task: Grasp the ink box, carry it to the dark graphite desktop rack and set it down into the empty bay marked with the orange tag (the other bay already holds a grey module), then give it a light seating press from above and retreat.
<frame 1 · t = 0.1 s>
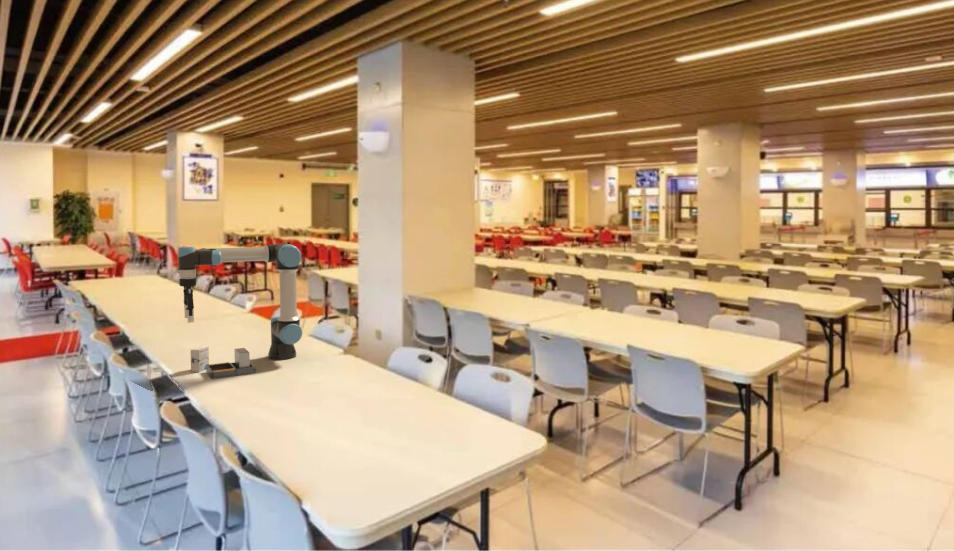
hand: (189, 320, 300), 28 cm above the table, fingers open, 13 cm apart
rack: (231, 372, 307), on the table
ink box: (200, 370, 311), on the table
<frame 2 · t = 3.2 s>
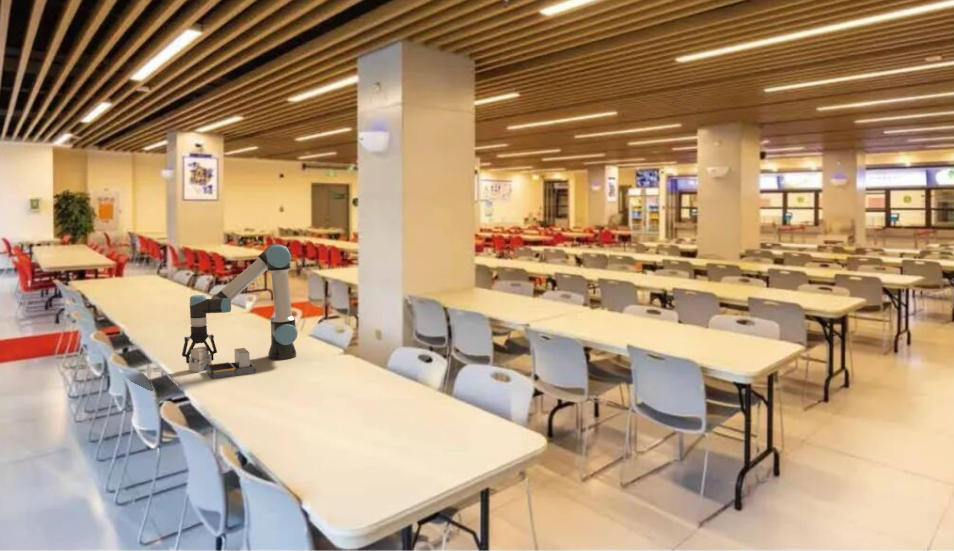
hand: (200, 367, 311), 1 cm above the table, fingers closed on ink box, 9 cm apart
ink box: (200, 370, 311), on the table, touching gripper
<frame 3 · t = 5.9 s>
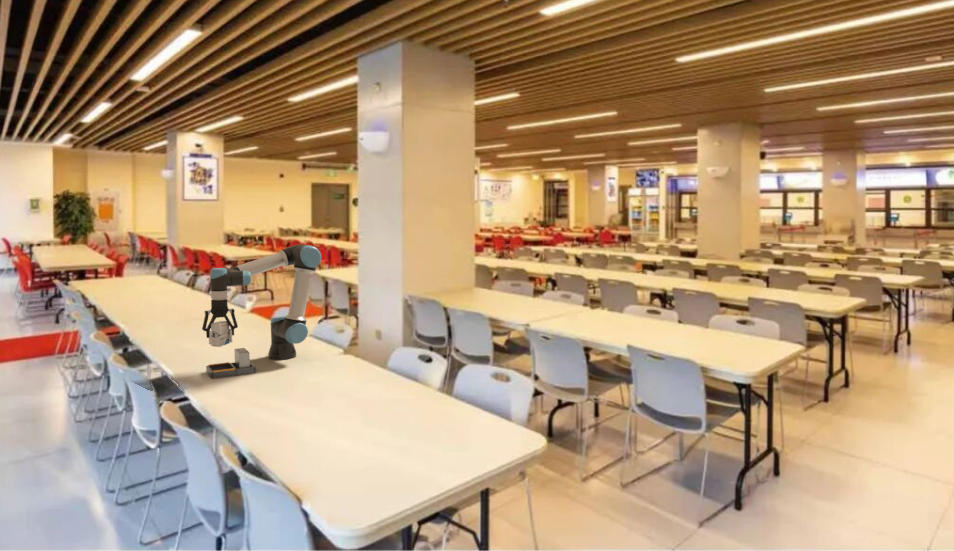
hand: (220, 342, 303), 16 cm above the table, fingers closed on ink box, 9 cm apart
ink box: (220, 345, 303), point 15 cm above the table, touching gripper
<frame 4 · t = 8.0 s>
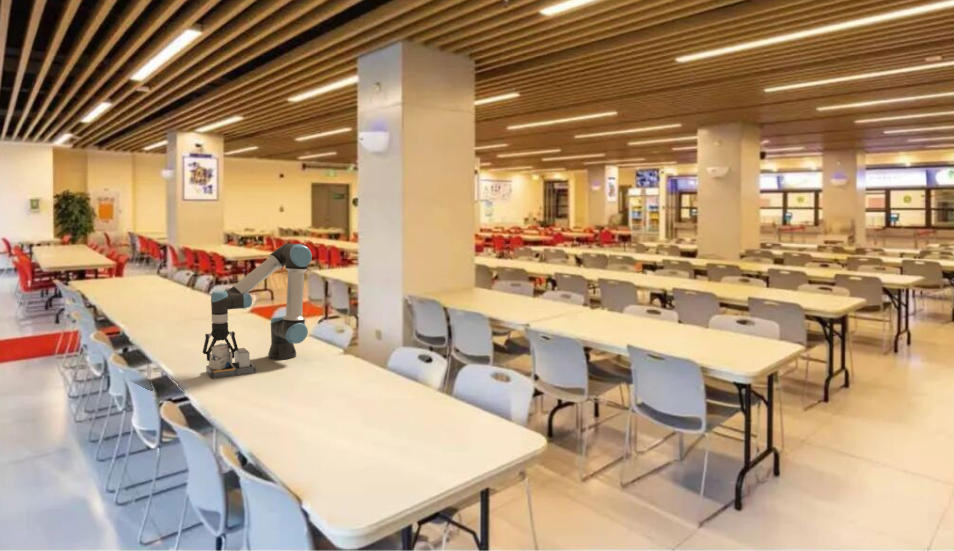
hand: (220, 365, 304), 4 cm above the table, fingers closed on ink box, 9 cm apart
ink box: (221, 368, 304), point 3 cm above the table, touching gripper
when the fingers open (4 cm above the table, at t = 8.9 s): ink box drops 2 cm, resting on rack.
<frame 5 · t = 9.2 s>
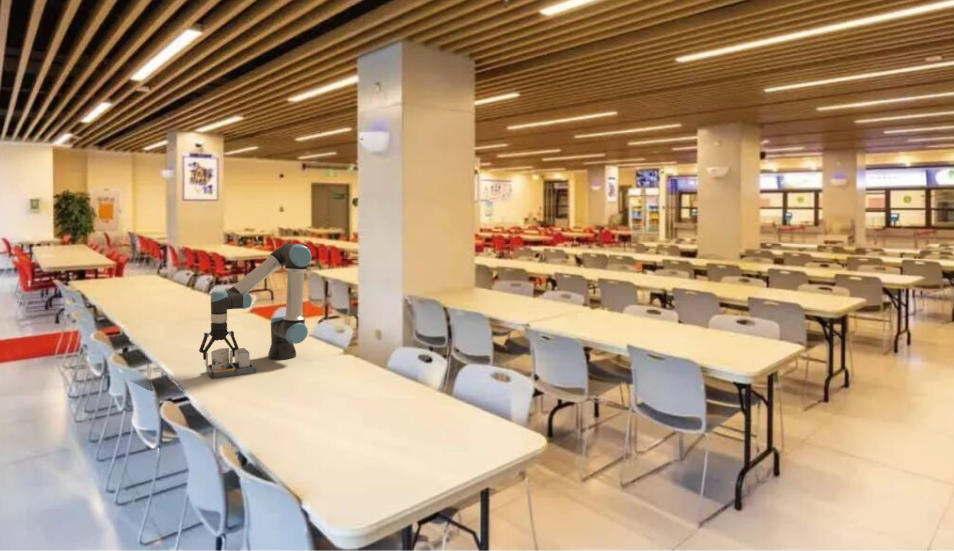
hand: (219, 364, 304), 5 cm above the table, fingers open, 11 cm apart
ink box: (221, 372, 305), point 1 cm above the table, touching rack
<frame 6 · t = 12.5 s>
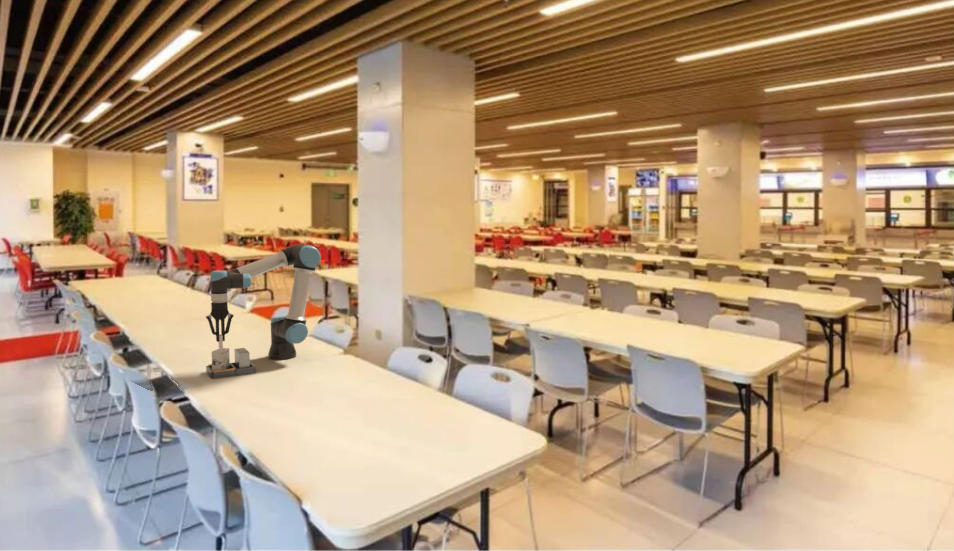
hand: (220, 347, 303), 14 cm above the table, fingers closed
nothing on the table moved.
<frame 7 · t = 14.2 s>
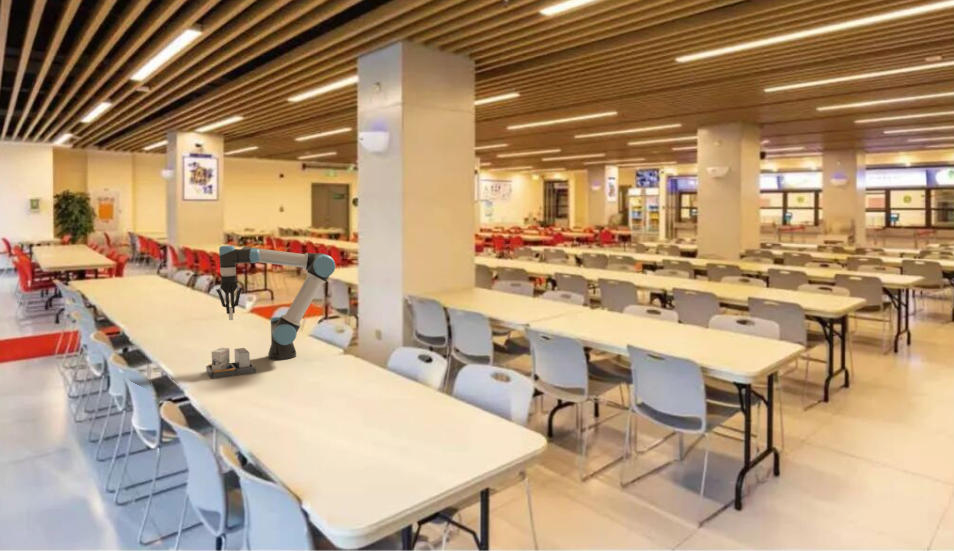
hand: (231, 319, 316), 25 cm above the table, fingers closed
nothing on the table moved.
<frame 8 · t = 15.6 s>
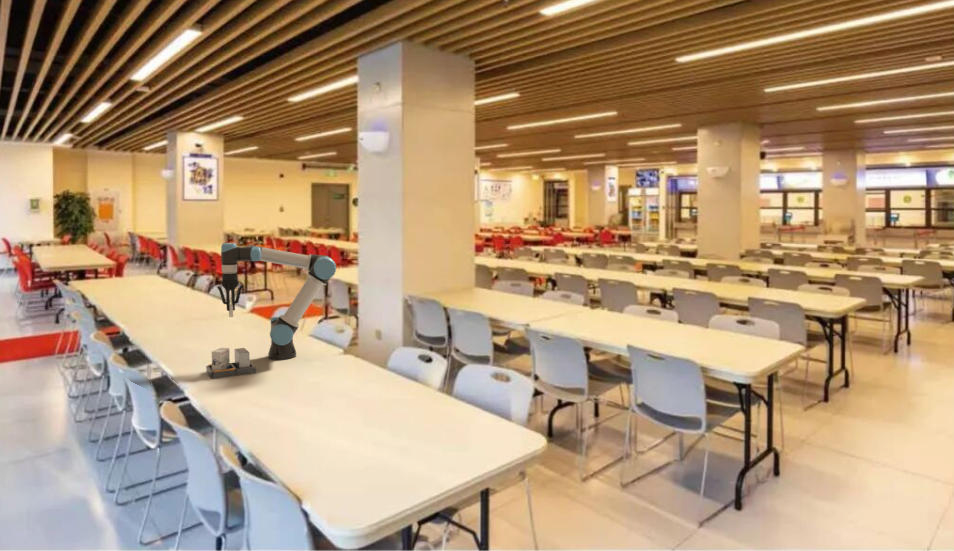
hand: (231, 316, 318), 26 cm above the table, fingers closed
nothing on the table moved.
at the end: ink box 0.3 cm from the target spot on the rack, point 0.6 cm above the rack's base; ink box tilted 0°; the gripper is holding nothing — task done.
